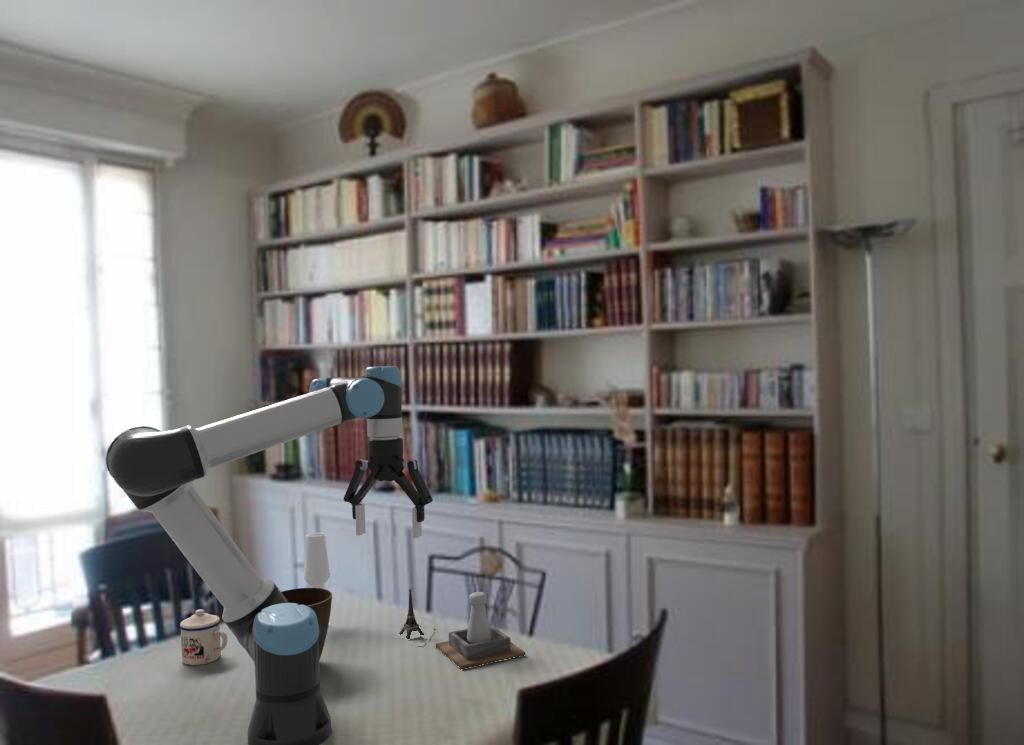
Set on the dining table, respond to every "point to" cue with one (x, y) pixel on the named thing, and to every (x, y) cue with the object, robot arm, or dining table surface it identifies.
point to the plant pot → (314, 607)
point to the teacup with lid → (201, 638)
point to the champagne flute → (316, 561)
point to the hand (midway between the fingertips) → (388, 535)
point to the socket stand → (478, 649)
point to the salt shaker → (478, 619)
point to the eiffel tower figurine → (410, 620)
